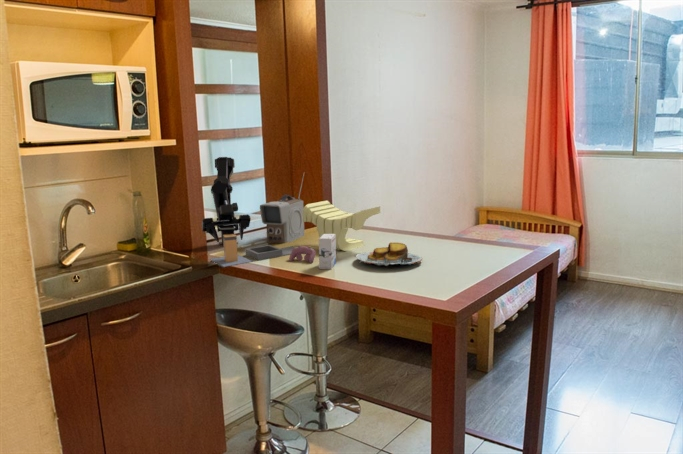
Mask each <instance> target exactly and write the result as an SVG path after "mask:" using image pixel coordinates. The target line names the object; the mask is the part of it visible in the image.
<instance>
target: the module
mask: <svg viewBox="0 0 683 454" xmlns="http://www.w3.org/2000/svg"><path fill="white" fill-rule="evenodd" d="M237 240H238V237H237V235H236V234H235V233H234V234H226V235H223V245H222V246H223V257H224V260H225V261H226V262H232V261H238V255H239V254H238V244H237V242H238V241H237ZM237 254H238V255H237Z"/></svg>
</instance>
